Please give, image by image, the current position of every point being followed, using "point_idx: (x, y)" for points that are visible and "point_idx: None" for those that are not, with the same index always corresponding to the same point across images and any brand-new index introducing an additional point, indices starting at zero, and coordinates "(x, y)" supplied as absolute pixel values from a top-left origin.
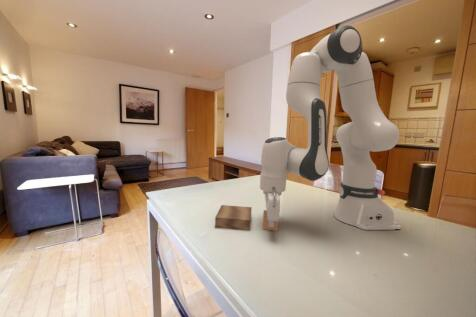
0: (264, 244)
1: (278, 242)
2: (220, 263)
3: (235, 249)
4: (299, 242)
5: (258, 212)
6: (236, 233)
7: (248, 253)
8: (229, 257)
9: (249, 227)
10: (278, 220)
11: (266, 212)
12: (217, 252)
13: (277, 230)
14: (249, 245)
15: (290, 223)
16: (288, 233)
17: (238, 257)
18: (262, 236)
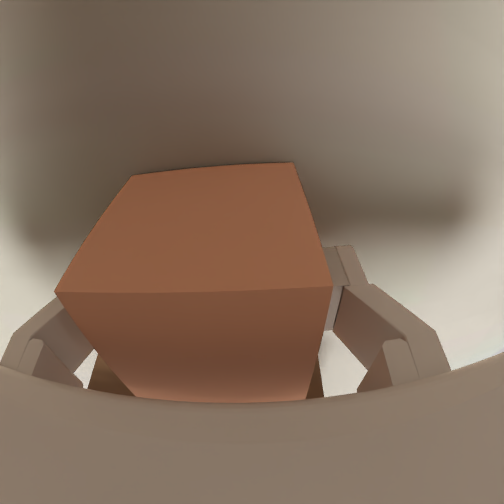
0: (471, 263)
1: (475, 182)
2: (493, 349)
3: (459, 344)
4: (474, 13)
5: (25, 304)
6: (345, 372)
7: (494, 308)
8: (484, 343)
9: (318, 362)
10: (318, 236)
11: (193, 393)
12: (452, 369)
13: (293, 166)
14: (455, 317)
15: (57, 37)
16: (331, 49)
17: (496, 326)
18: (392, 279)
